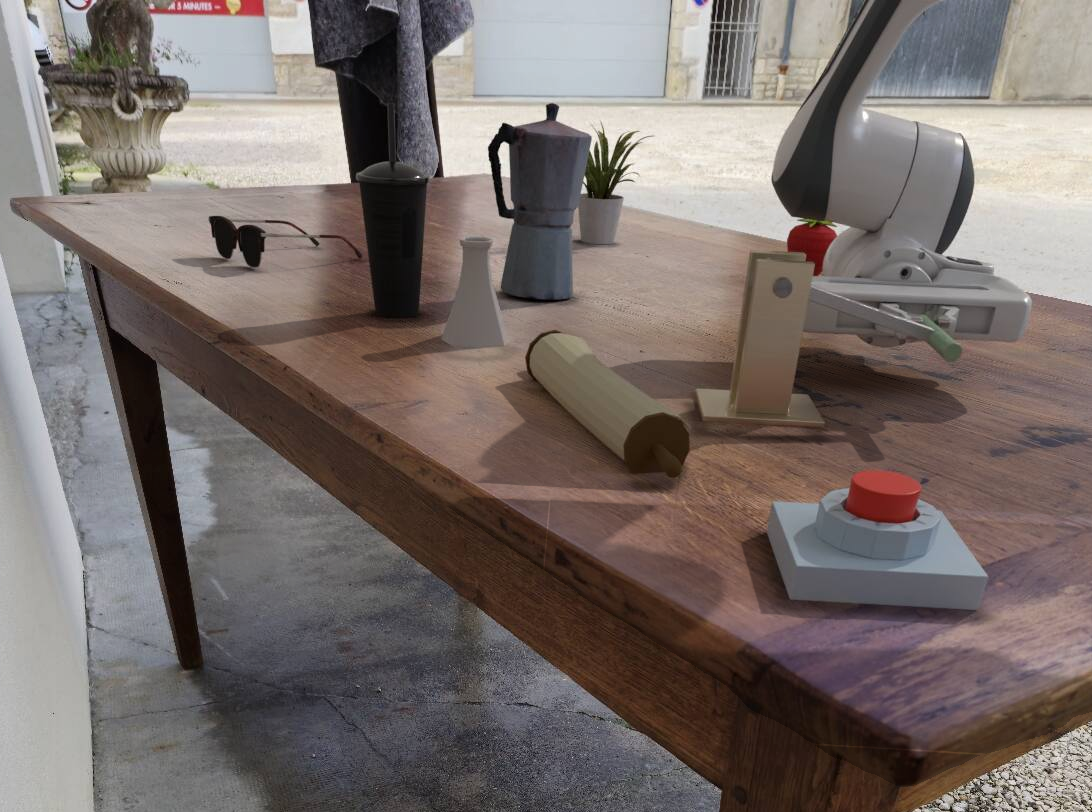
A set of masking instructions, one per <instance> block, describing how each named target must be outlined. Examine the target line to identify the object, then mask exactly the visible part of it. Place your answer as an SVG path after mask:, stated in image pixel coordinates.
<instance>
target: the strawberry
mask: <svg viewBox="0 0 1092 812" xmlns="http://www.w3.org/2000/svg"><path fill="white" fill-rule="evenodd" d="M796 221H797V222H803V223H802V224H798V225H795V226H794V227H792V229H790V231H789V233H788V236H787V239H786V246H787V247H786V248H787V252H800V253H805V254H806V260H805V261H806V262H813V263H814V264H815V267H814V273H813V276H820V274H822V267H823V261H824V257H825V254H826V252H827V249H828V248H829V246H830V244H831V243H832V241H833V240H834V239H835V238H836V237H837V236H838V234H837V233H836V231H835V229H833V228H837V227H838V226H837V225H836V224H835V223H834V222H830V221H826V220H824V221H817V220H810V219H804V218H797V219H796ZM831 227H833V228H831Z"/></svg>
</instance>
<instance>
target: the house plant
mask: <svg viewBox="0 0 1092 812" xmlns="http://www.w3.org/2000/svg"><path fill="white" fill-rule="evenodd" d="M588 122H589V124H590V125H591V127H592V128H593V129H594V131H595V133H596V135H597V137H598V140H596V141H595V143H594V147H593V154H592V152H591V149H590V150H589V155H588V160H587V165H586V170H585V175H584V178H585V179H586V182H585V181H583V185H584V187H585V190H586V192H585V193H581V195H580V200H579V205H578V207H577V209H578V210H577V211H578V221H579V235H580V241H581V242H582V243H584V244H591V245H611V244H612V245H613V244H615V239H616V236H617V232H618V227H619V221H620V218H621V213H622V209H623V204H624V198H625V197H624V196H622V195H619V194H614V193H613V192H614V190H615V188H616V187H617V185H618V184H620V183H622V182H632V183H635V184H637V182H636V181H635V180H634V179H632V178H631V179H630V178H626V179H623V178H624V177H625V176H627V175H630V174H636V175H638V176H639V178H640V179H642V178H641V176H640V174H639V173H638V172H635V171H633V172H628V173H625V172H626V171H627V170H628V169H629V168H630V166H633V165H636V164H637V163H628V164H626V165H624V163H625V162H626V160H627V158H628V157H629V155H630V153H632V151H633V150H634V149H635V148H636V147H637V146H638V145H639V144H644V141H643V142H642V140H644V139H647V138H651V137H652V138H653V137H654V135H647V136H644V137H642V138H640V139H638V140H637V141H636V142H635V143H633V144H632V141H630V142H628V141H629V140H630V139H632V137H633V136H634V134H636V133H640V130H634V131H631V130H628V131H625V132H623V133H622V134H621V135H620V136H619V137H618V139H617V141H616V143H615V146H614V149H613V153H612V155H611V158H610V160H609V151H610V150H609V141H608V138H607V136H606V135H605V128H604V125H603V123H602V121H601V120H599V122H600V125H601V128H602V131H600V130H597V129H596V128H595V127H594V125H592V123H591V122H590V121H588ZM626 133H627V134H626ZM623 135H625V136H623ZM640 141H641V142H640ZM627 142H628V143H627ZM630 145H631V146H630ZM599 146H600V148H599ZM629 146H630V147H629ZM628 147H629V148H628ZM627 148H628V149H627ZM593 156H594V157H593ZM622 156H623V157H622ZM600 157H601V158H600ZM621 157H622V159H621ZM620 159H621V160H620ZM619 160H620V162H619ZM618 162H619V164H618ZM617 164H618V166H617ZM623 165H624V166H623Z"/></svg>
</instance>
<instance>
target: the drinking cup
mask: <svg viewBox="0 0 1092 812" xmlns="http://www.w3.org/2000/svg"><path fill="white" fill-rule="evenodd" d="M386 105H387V130H388V131H387V132H388V133H387V134H388V161H382V162H378V163H377V162H376V163H374V164H372V165H369V166H368V167H366V168H364V169H363V170H362V171H359V172H356V175H355V179H356V180H357V181H358V185H359V191H360V200H361V207H362V216H363V223H364V230H365V232H364V233H365V240H366V248H367V256H368V257H367V258H368V264H369V272H370V279H371V287H372V296H373V302H374V305H373V306H374V312H375V314H376V315H377V316H380V317H384V318H391V319H407V318H413V317H416V316H418V315H419V313H420V299H421V285H422V268H423V254H424V237H425V222H426V206H427V193H428V192H427V190H428V184H429V183H430V179H431V178H430V177H431V176H430V175H428V174H426V173H424V172H422V170H420V169H419V168H417V167H416V166H413V165H411V164H408V163H405V162H401V161H397V156H396V155H397V154H396V151H397V149H396V125H395V124H396V120H395V119H396V118H395V116H396V115H395V103H392V102H387V104H386Z"/></svg>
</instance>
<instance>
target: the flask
mask: <svg viewBox="0 0 1092 812" xmlns="http://www.w3.org/2000/svg"><path fill="white" fill-rule="evenodd" d="M493 243H494V239H493V238H490V237H487V236H475V235H473V236H462V237H461V238H460V239H459V245H460V247H461V248H462V264H461V269H460V277H459V283H458V286H457V289H456V291H455V292H456V293H455V296H454V298H453V303H452V305H451V308H450V312H449V315H448V318H447V320H446V324H445V327H444V330H443V333H442V336H441V340H442V341H443V342H445V343H446V344H448V345H450V346H451V347H459V348H470V349H487V348H498V347H499V348H500V347H505V346H506V345H507V343H509V341H510V336H509V333H508V331H507V328H506V327H507V326H506V324H505V321H504V317H503V315H502V311H501V308H500V304H499V301H498V297H497V293H496V289H495V286H494V283H493V276H492V270H491V269H492V268H491V261H490V259H491V256H490V254H491V252H490V251H491V247H492V246H493Z"/></svg>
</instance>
